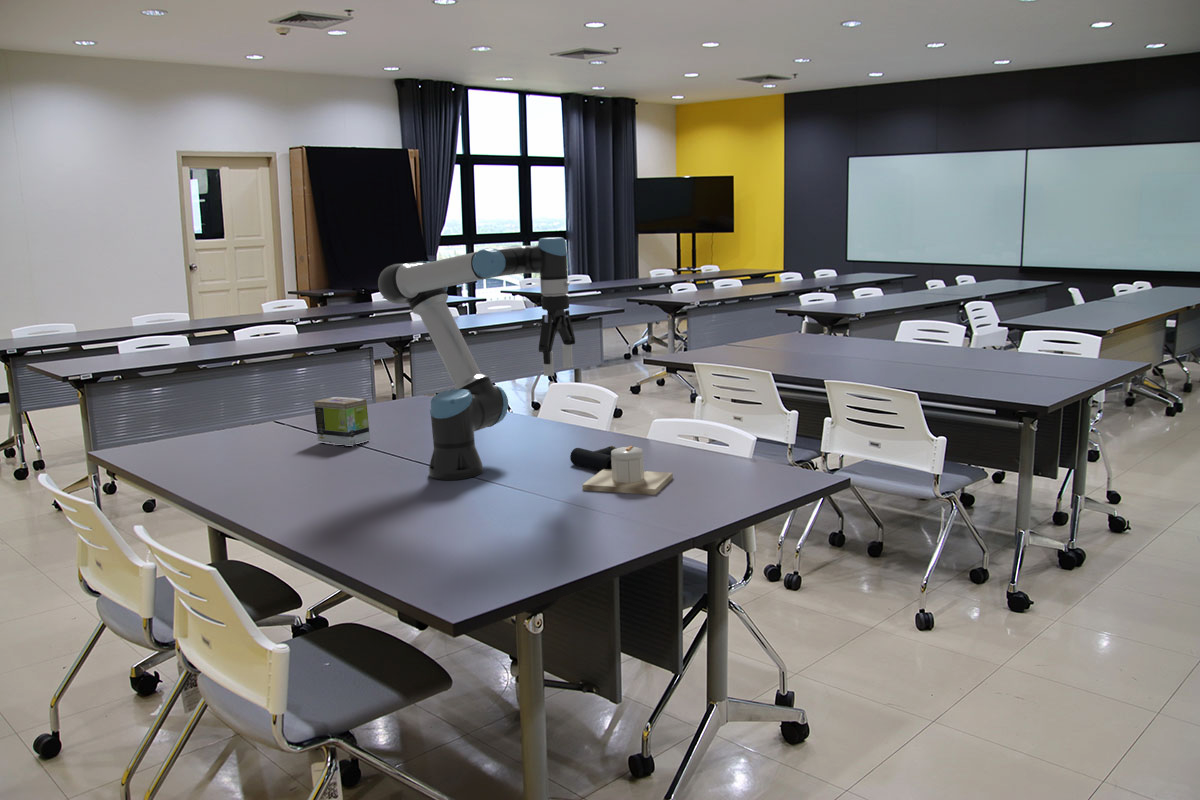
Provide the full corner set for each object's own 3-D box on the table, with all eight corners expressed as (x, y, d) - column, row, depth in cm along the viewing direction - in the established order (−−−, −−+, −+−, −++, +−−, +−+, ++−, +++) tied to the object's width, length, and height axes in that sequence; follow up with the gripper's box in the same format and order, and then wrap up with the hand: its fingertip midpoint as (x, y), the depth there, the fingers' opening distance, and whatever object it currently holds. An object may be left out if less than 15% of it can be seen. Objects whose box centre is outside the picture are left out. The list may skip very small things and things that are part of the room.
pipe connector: (599, 441, 283) (634, 449, 272) (600, 458, 284) (634, 467, 273) (569, 449, 276) (603, 457, 265) (570, 466, 277) (604, 475, 266)
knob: (638, 483, 249) (637, 454, 248) (608, 482, 252) (606, 452, 251) (647, 474, 257) (646, 445, 255) (618, 472, 260) (617, 444, 258)
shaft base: (582, 490, 251) (581, 466, 250) (603, 474, 266) (602, 451, 265) (655, 494, 244) (654, 470, 243) (672, 478, 259) (672, 454, 258)
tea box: (371, 441, 318) (367, 398, 315) (348, 448, 310) (344, 403, 307) (339, 437, 326) (335, 395, 323) (316, 444, 318) (312, 400, 315)
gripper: (549, 299, 248) (553, 379, 252) (584, 290, 271) (587, 364, 275) (523, 299, 250) (527, 378, 254) (559, 291, 273) (563, 364, 277)
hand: (558, 371), depth 265 cm, fingers open, 13 cm apart
